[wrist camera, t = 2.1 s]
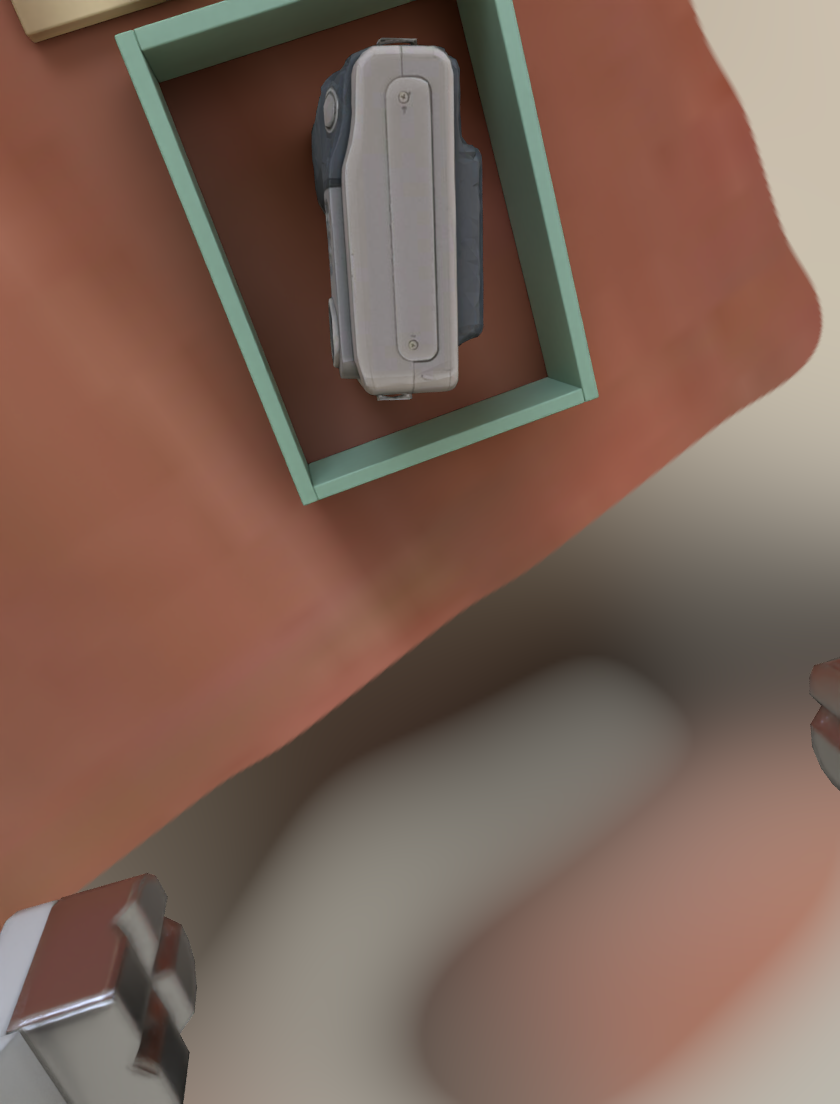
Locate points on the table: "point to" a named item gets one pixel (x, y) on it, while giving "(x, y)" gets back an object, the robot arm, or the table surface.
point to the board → (70, 14)
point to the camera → (399, 218)
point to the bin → (505, 91)
